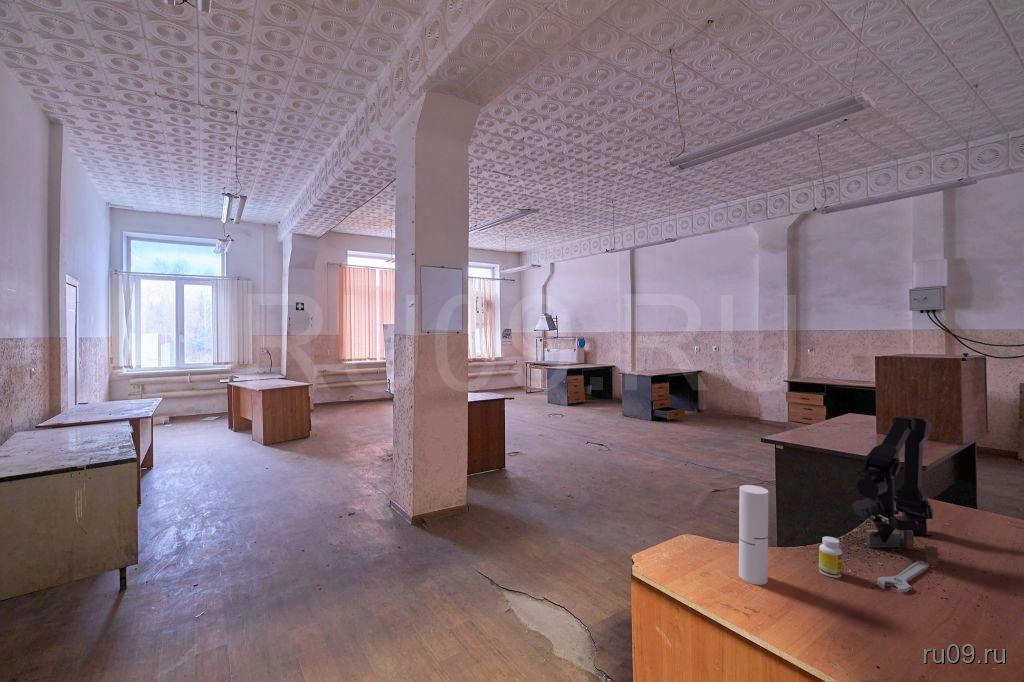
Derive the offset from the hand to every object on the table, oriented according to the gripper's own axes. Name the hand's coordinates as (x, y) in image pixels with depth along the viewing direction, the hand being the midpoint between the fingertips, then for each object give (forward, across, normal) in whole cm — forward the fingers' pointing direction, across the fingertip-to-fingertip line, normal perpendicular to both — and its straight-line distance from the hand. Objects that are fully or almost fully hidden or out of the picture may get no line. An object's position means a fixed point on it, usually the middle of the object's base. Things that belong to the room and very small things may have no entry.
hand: (884, 542), depth 144 cm
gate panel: (+2, -2, +2) cm, 4 cm away
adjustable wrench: (+4, +16, -6) cm, 18 cm away
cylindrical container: (+3, +14, -50) cm, 52 cm away
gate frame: (+3, +4, +8) cm, 9 cm away
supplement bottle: (+3, +12, -26) cm, 29 cm away
